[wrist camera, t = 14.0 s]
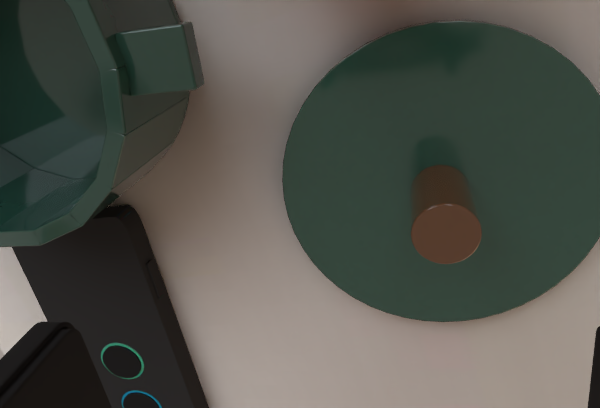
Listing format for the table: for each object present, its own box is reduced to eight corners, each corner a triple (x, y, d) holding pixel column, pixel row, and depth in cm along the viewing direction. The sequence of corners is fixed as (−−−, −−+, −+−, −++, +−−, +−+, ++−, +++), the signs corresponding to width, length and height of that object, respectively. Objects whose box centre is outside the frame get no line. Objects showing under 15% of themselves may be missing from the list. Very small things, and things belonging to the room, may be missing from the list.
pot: (-160, -67, 26) (-337, -75, 20) (207, -145, 22) (127, -187, 15) (-44, 195, 32) (-153, 252, 26) (263, 177, 27) (222, 240, 21)
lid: (264, 40, 24) (228, 60, 19) (631, -5, 21) (700, 6, 16) (307, 310, 31) (287, 377, 26) (594, 310, 27) (636, 388, 22)
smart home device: (115, 468, 38) (-1, 230, 30) (126, 449, 39) (19, 217, 32) (218, 471, 36) (122, 216, 28) (226, 450, 37) (137, 203, 30)
